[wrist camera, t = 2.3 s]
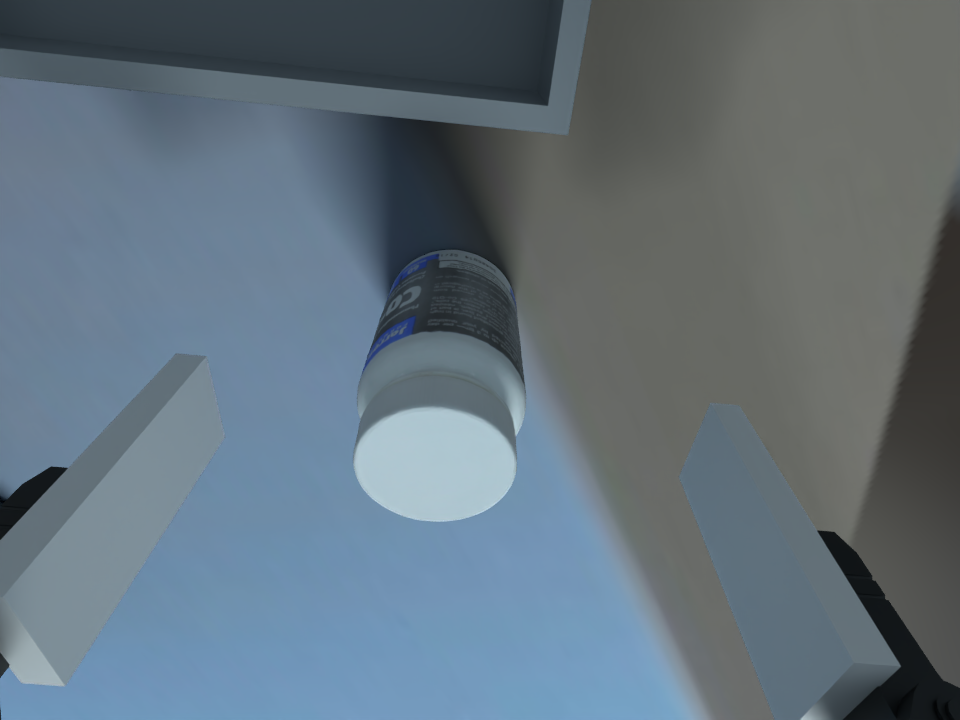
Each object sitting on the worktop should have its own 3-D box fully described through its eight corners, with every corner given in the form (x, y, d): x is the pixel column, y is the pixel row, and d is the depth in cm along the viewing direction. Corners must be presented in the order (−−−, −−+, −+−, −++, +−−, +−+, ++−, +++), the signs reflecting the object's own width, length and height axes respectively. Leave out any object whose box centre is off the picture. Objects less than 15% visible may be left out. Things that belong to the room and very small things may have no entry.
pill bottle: (406, 228, 18) (357, 365, 11) (534, 269, 19) (565, 422, 12) (376, 340, 20) (320, 511, 13) (490, 373, 21) (494, 549, 14)
